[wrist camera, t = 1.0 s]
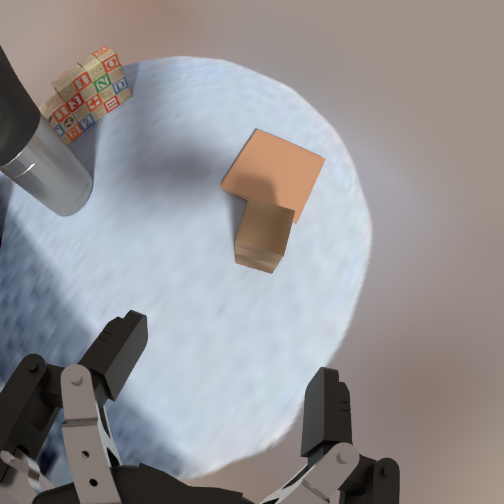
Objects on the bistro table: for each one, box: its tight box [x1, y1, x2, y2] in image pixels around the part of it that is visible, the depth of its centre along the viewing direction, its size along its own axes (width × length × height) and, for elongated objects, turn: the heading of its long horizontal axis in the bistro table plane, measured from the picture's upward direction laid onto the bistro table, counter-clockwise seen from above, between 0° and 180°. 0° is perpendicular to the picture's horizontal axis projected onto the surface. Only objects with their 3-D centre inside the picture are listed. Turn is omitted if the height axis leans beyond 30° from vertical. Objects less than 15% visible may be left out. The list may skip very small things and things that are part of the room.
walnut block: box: [235, 197, 295, 274], centre depth 32 cm, size 5×5×10 cm
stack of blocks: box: [38, 46, 132, 146], centre depth 36 cm, size 21×6×12 cm, turn 134°
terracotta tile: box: [221, 129, 325, 223], centre depth 40 cm, size 12×12×1 cm
